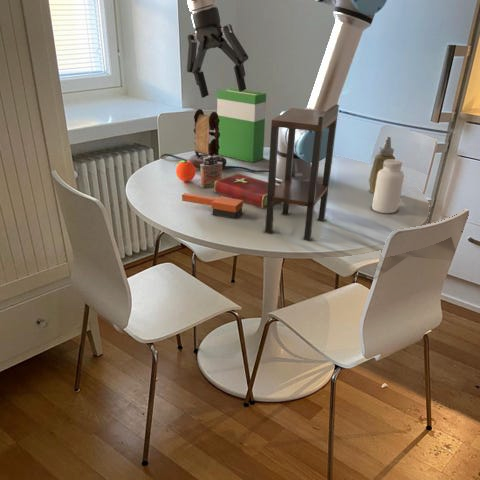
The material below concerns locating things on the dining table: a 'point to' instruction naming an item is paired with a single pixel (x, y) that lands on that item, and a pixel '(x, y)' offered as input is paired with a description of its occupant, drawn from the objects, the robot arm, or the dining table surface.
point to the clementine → (185, 171)
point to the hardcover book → (244, 189)
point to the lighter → (210, 171)
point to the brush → (217, 204)
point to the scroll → (205, 138)
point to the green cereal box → (241, 123)
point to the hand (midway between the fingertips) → (223, 93)
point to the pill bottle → (388, 187)
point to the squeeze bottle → (380, 162)
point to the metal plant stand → (291, 188)
